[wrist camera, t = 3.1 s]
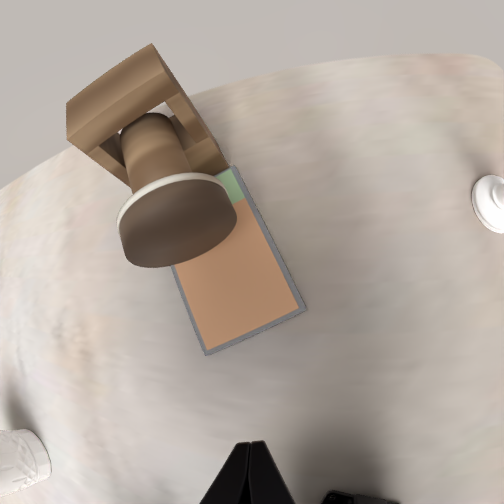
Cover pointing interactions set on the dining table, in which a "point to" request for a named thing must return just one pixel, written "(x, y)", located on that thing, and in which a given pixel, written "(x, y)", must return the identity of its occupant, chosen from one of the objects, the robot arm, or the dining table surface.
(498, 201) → the chess piece
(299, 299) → the board
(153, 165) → the peg
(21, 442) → the white cup
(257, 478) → the robot arm
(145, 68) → the block
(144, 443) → the dining table surface
